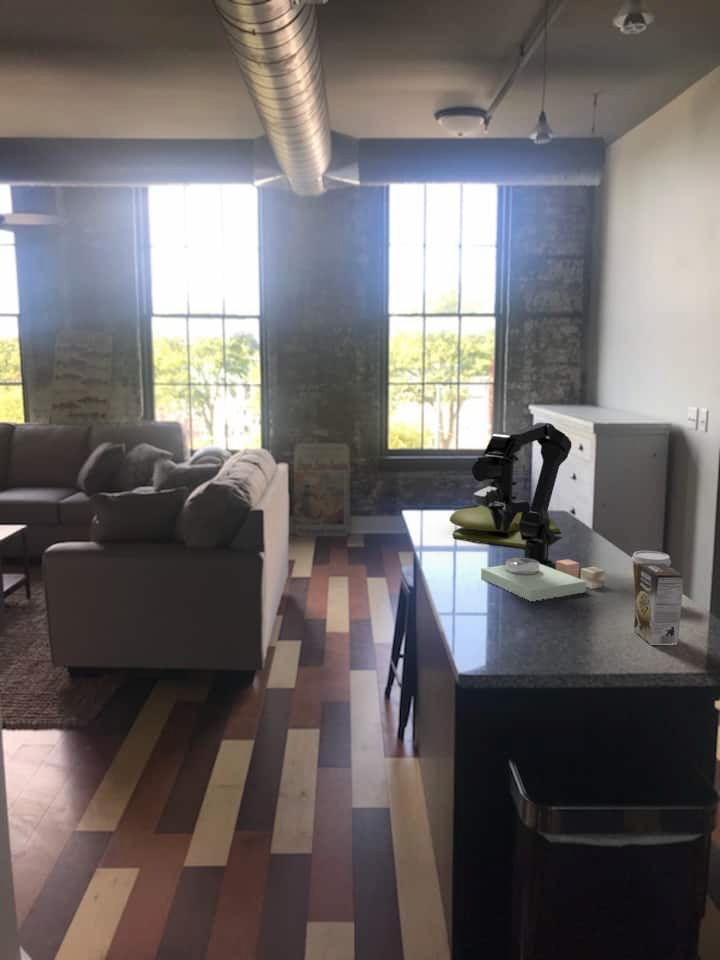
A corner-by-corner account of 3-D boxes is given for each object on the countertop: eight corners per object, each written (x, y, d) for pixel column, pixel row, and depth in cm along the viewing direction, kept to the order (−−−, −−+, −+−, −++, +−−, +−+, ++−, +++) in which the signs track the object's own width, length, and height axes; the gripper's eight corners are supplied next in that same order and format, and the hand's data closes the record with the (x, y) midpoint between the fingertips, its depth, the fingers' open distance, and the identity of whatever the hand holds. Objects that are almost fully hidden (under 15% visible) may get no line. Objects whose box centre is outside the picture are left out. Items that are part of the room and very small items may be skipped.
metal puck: (525, 564, 216) (525, 556, 216) (545, 572, 208) (546, 564, 208) (499, 568, 212) (499, 559, 212) (519, 577, 204) (519, 568, 204)
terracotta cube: (567, 574, 218) (568, 559, 217) (578, 578, 214) (579, 563, 213) (555, 576, 216) (555, 561, 215) (565, 580, 212) (566, 565, 211)
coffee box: (632, 631, 173) (636, 562, 170) (659, 630, 174) (664, 562, 171) (650, 646, 164) (655, 574, 161) (679, 645, 165) (685, 573, 162)
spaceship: (561, 532, 270) (563, 505, 268) (531, 551, 244) (532, 521, 242) (471, 521, 288) (471, 495, 287) (434, 537, 263) (434, 509, 261)
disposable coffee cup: (667, 596, 198) (670, 552, 196) (669, 608, 189) (672, 561, 187) (628, 592, 201) (631, 548, 199) (628, 604, 192) (631, 558, 190)
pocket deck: (532, 570, 221) (532, 560, 220) (585, 592, 201) (586, 581, 201) (481, 578, 213) (481, 568, 212) (531, 601, 193) (531, 590, 193)
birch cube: (592, 582, 210) (593, 566, 210) (604, 586, 206) (605, 570, 206) (579, 584, 208) (580, 568, 208) (591, 589, 204) (592, 572, 204)
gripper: (460, 474, 220) (459, 527, 223) (499, 484, 203) (497, 541, 206) (492, 472, 225) (490, 523, 227) (532, 481, 208) (530, 537, 211)
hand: (501, 531), depth 218 cm, fingers open, 3 cm apart
